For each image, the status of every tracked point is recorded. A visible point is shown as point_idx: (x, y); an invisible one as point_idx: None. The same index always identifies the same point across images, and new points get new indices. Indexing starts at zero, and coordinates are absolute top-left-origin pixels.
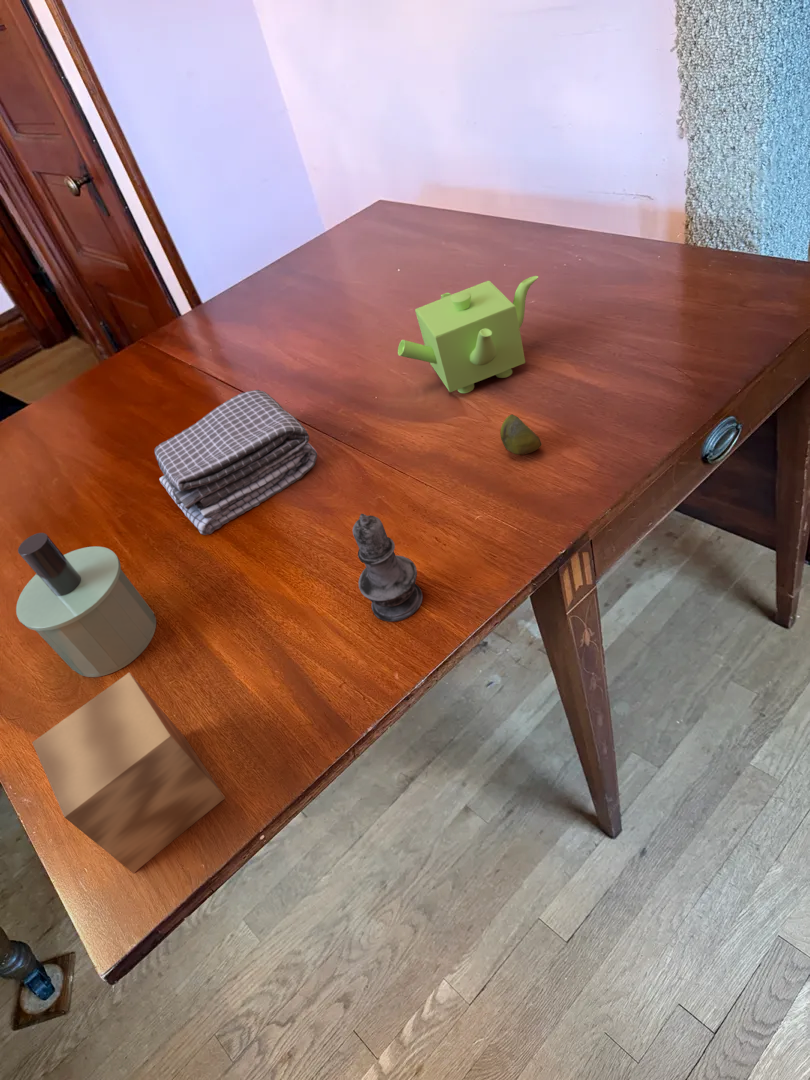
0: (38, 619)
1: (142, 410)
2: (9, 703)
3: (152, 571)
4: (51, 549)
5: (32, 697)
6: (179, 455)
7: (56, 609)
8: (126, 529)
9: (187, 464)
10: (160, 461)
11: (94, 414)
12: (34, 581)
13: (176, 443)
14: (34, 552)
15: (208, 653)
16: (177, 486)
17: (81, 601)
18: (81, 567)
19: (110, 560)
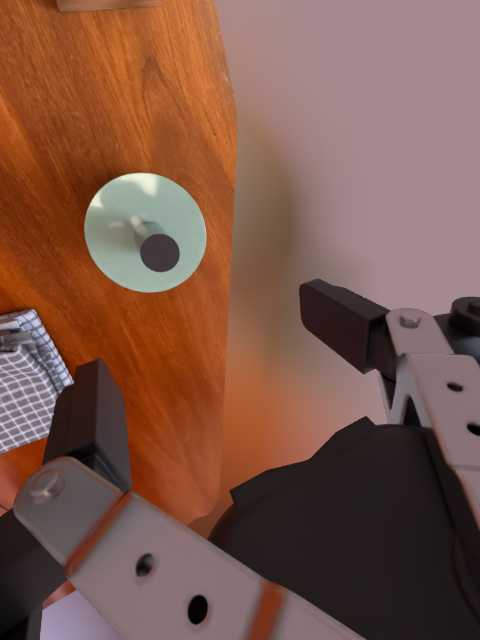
0: (183, 202)
1: None
2: (232, 210)
3: (98, 291)
4: (141, 241)
5: (215, 203)
6: (30, 406)
7: (162, 204)
8: (125, 358)
9: (19, 389)
10: None
11: (152, 500)
12: (187, 269)
13: (36, 426)
14: (157, 233)
15: (26, 123)
16: (20, 349)
17: (132, 195)
18: (134, 257)
19: (96, 246)
